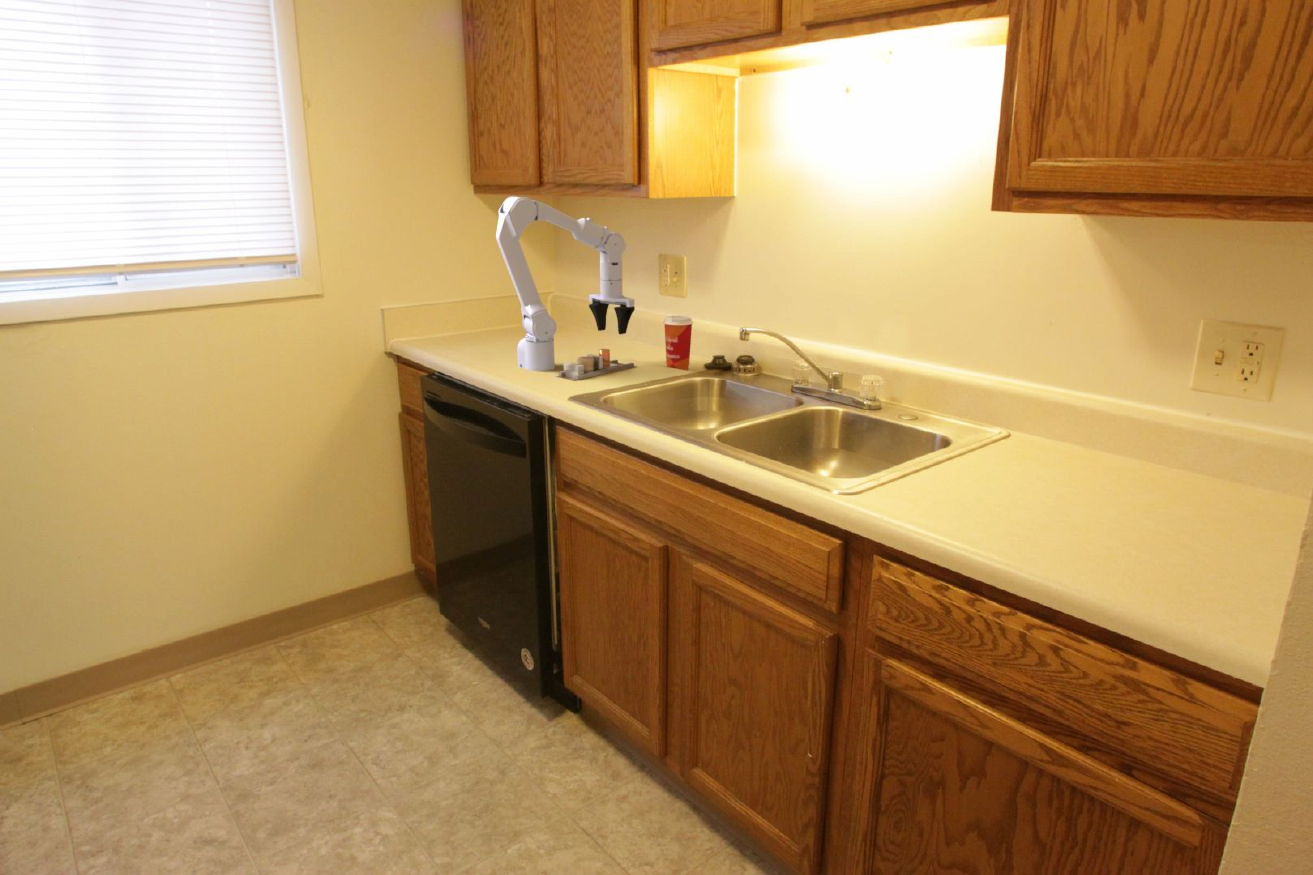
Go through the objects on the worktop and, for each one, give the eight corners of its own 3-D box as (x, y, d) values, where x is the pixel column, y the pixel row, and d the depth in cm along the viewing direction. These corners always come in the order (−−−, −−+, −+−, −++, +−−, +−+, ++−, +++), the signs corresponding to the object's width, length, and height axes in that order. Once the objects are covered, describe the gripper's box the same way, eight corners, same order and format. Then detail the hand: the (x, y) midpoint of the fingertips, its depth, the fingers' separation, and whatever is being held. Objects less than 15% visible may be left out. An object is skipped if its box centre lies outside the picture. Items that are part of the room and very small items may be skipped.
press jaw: (587, 370, 221) (586, 351, 220) (606, 366, 226) (606, 347, 225) (599, 373, 219) (599, 353, 217) (619, 368, 224) (618, 349, 222)
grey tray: (555, 382, 216) (554, 364, 215) (617, 368, 232) (617, 351, 230) (575, 386, 211) (574, 368, 210) (637, 372, 227) (637, 355, 226)
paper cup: (658, 369, 231) (658, 316, 226) (685, 367, 233) (686, 314, 229) (669, 375, 224) (670, 320, 219) (697, 373, 226) (698, 319, 222)
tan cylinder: (574, 374, 218) (573, 358, 217) (586, 371, 221) (585, 355, 220) (585, 376, 215) (585, 360, 214) (597, 373, 218) (596, 358, 217)
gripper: (642, 280, 224) (642, 333, 228) (602, 276, 234) (603, 326, 238) (623, 283, 219) (623, 336, 223) (583, 278, 229) (584, 330, 233)
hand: (611, 332), depth 230 cm, fingers open, 7 cm apart
